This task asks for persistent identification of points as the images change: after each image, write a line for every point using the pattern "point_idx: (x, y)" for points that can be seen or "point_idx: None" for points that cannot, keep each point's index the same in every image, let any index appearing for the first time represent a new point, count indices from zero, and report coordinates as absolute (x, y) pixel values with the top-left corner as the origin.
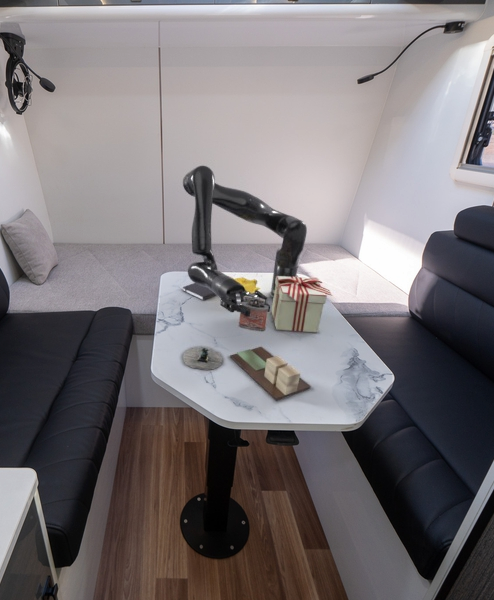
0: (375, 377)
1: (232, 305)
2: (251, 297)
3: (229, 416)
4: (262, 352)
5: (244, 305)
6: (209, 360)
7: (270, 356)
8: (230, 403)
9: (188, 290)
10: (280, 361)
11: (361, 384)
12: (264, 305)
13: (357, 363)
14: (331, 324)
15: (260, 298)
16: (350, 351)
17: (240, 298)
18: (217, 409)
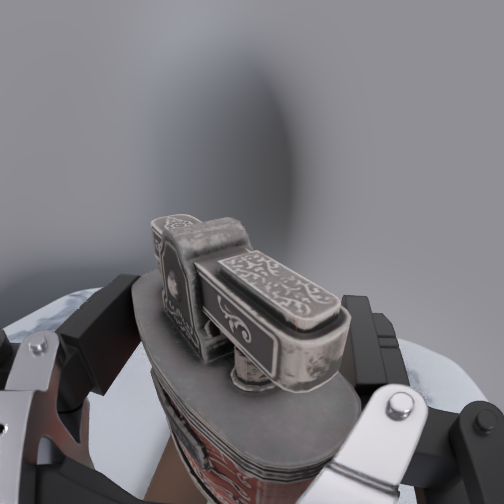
0: (86, 298)
1: (490, 407)
2: (250, 255)
3: (438, 356)
4: (169, 498)
5: (338, 375)
6: None
7: (170, 465)
8: (425, 381)
9: None
10: None
11: None
12: (145, 292)
13: (54, 324)
14: None
15: (26, 357)
16: (15, 342)
17: (301, 499)
18: (456, 376)
